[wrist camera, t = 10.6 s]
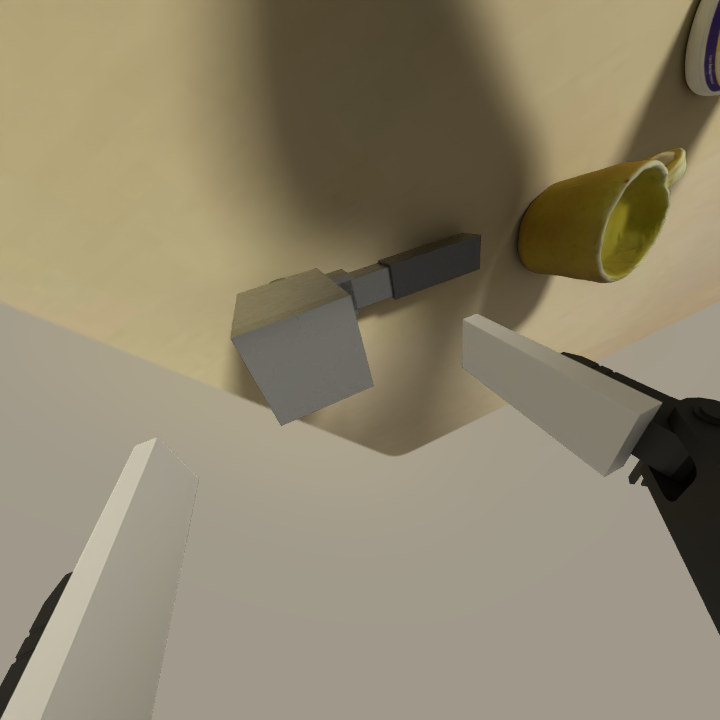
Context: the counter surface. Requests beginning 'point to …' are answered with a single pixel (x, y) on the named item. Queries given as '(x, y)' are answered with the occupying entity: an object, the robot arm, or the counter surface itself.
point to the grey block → (301, 343)
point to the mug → (600, 219)
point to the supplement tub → (704, 50)
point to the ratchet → (410, 270)
